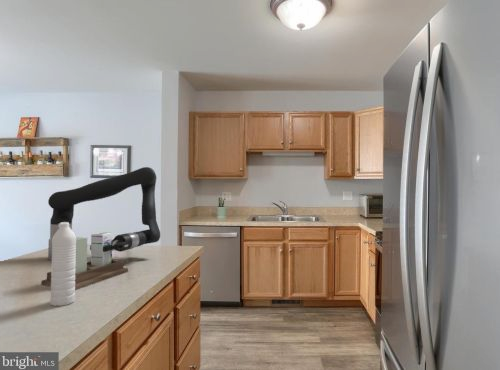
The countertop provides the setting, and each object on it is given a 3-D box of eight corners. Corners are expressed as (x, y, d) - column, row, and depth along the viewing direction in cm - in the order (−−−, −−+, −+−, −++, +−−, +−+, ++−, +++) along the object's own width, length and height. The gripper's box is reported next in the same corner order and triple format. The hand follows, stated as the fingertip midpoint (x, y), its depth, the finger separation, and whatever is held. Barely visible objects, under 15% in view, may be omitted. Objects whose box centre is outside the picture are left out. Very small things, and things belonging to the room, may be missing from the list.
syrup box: (103, 270, 124) (103, 234, 124) (90, 269, 125) (90, 233, 125) (112, 266, 129) (112, 232, 129) (99, 265, 130) (100, 231, 130)
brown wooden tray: (41, 284, 111) (41, 272, 111) (98, 267, 136) (99, 257, 136) (74, 290, 106) (74, 277, 106) (127, 271, 130) (128, 261, 130)
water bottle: (51, 300, 96) (53, 221, 97) (75, 297, 99) (77, 220, 100) (47, 310, 89) (49, 224, 89) (73, 307, 91) (75, 223, 92)
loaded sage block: (60, 279, 113) (61, 239, 113) (74, 275, 118) (75, 236, 119) (72, 281, 111) (73, 240, 111) (86, 277, 116) (87, 237, 117)
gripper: (114, 232, 143) (83, 238, 127) (139, 234, 138) (111, 240, 122) (114, 248, 143) (83, 256, 127) (139, 251, 138) (110, 259, 122)
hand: (97, 248), depth 125 cm, fingers closed on syrup box, 6 cm apart
